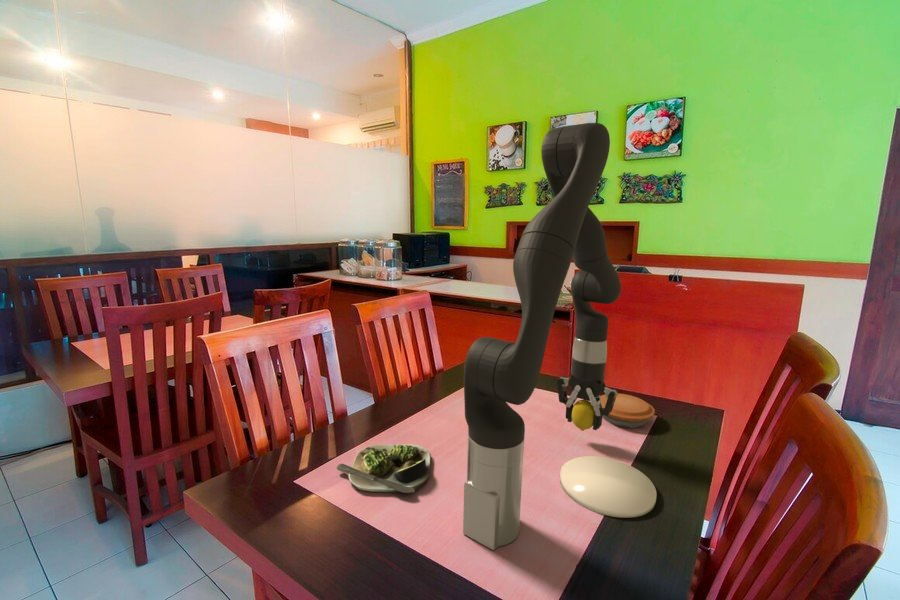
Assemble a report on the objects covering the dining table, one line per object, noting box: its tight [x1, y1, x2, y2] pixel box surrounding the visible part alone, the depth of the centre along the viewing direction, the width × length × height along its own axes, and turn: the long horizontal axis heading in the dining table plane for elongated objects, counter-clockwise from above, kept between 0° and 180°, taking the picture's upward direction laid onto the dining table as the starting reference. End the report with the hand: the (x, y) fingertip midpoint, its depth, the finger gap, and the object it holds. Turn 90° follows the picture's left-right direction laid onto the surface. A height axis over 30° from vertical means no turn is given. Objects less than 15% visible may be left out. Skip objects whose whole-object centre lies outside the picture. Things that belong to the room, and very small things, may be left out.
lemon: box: [572, 398, 595, 432], centre depth 99 cm, size 6×6×8 cm
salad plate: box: [336, 443, 432, 494], centre depth 87 cm, size 19×18×5 cm
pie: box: [600, 392, 656, 428], centre depth 113 cm, size 15×16×5 cm
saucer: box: [559, 455, 657, 519], centre depth 83 cm, size 18×18×1 cm
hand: (582, 424), depth 99 cm, fingers closed on lemon, 5 cm apart
